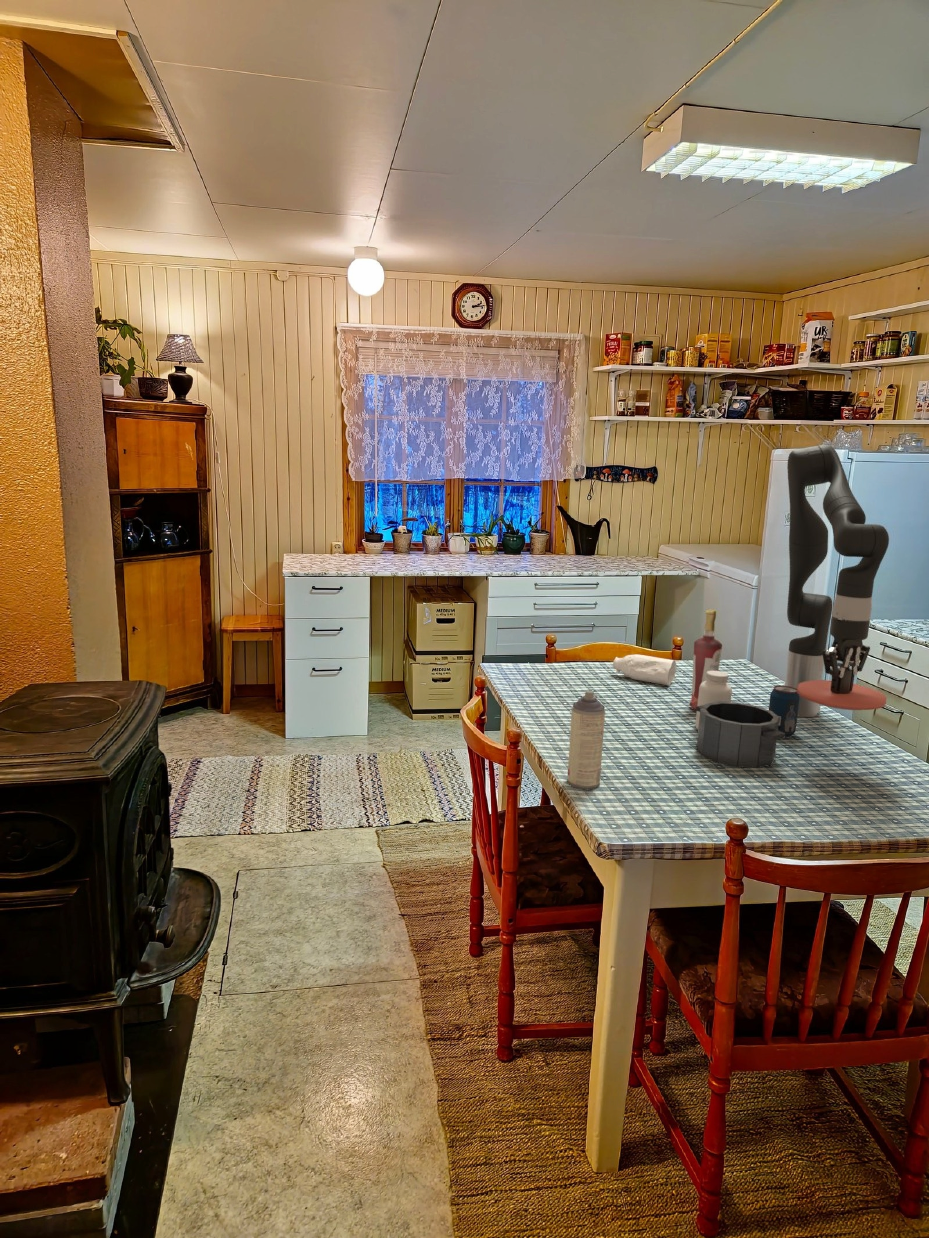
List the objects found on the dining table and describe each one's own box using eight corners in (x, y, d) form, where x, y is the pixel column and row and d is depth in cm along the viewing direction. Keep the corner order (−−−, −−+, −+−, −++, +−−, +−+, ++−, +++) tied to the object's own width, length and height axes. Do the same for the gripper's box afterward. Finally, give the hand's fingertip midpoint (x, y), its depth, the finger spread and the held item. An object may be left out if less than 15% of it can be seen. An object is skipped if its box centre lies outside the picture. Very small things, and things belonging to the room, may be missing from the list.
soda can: (773, 727, 210) (778, 683, 208) (799, 734, 205) (805, 689, 203) (761, 733, 205) (766, 687, 203) (787, 740, 200) (793, 694, 198)
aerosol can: (595, 776, 174) (601, 687, 170) (603, 789, 167) (610, 696, 163) (563, 776, 173) (569, 686, 169) (571, 789, 166) (577, 696, 162)
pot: (723, 733, 204) (727, 695, 202) (800, 764, 185) (805, 723, 183) (673, 743, 196) (677, 703, 194) (748, 777, 176) (753, 733, 174)
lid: (830, 685, 192) (834, 656, 190) (902, 707, 177) (907, 675, 175) (779, 695, 183) (782, 664, 182) (851, 719, 168) (855, 685, 166)
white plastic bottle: (618, 673, 259) (620, 648, 257) (676, 683, 249) (678, 658, 248) (609, 678, 252) (610, 653, 251) (667, 688, 242) (670, 663, 241)
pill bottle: (729, 736, 202) (735, 678, 199) (696, 733, 204) (701, 675, 201) (725, 726, 210) (731, 670, 207) (693, 723, 211) (699, 667, 208)
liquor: (705, 715, 218) (716, 614, 212) (682, 709, 223) (691, 609, 217) (720, 711, 222) (730, 611, 217) (697, 704, 228) (706, 606, 222)
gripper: (855, 610, 182) (846, 683, 186) (815, 615, 175) (805, 691, 179) (887, 616, 176) (876, 692, 180) (846, 621, 169) (835, 700, 173)
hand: (841, 691), depth 179 cm, fingers closed on lid, 3 cm apart
